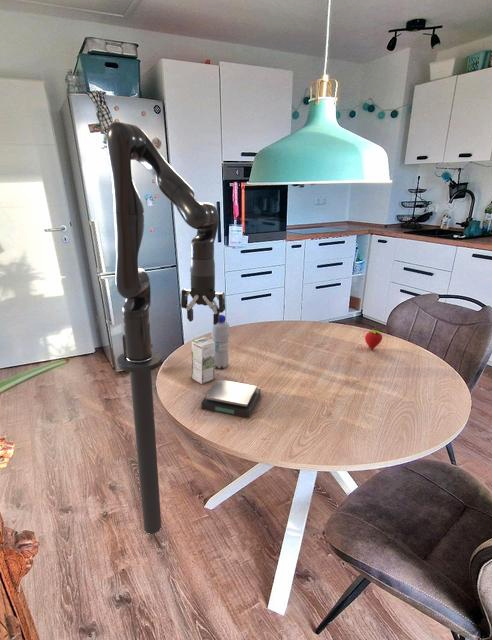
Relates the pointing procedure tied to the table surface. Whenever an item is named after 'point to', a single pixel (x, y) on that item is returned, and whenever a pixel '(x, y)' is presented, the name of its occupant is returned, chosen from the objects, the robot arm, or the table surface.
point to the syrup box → (203, 360)
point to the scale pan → (232, 392)
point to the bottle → (221, 342)
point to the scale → (231, 406)
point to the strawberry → (373, 338)
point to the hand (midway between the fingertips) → (203, 322)
